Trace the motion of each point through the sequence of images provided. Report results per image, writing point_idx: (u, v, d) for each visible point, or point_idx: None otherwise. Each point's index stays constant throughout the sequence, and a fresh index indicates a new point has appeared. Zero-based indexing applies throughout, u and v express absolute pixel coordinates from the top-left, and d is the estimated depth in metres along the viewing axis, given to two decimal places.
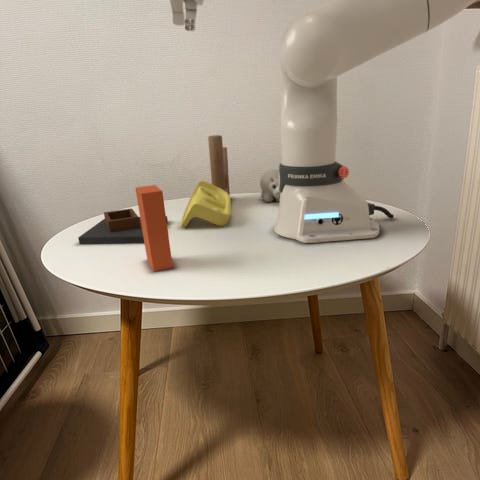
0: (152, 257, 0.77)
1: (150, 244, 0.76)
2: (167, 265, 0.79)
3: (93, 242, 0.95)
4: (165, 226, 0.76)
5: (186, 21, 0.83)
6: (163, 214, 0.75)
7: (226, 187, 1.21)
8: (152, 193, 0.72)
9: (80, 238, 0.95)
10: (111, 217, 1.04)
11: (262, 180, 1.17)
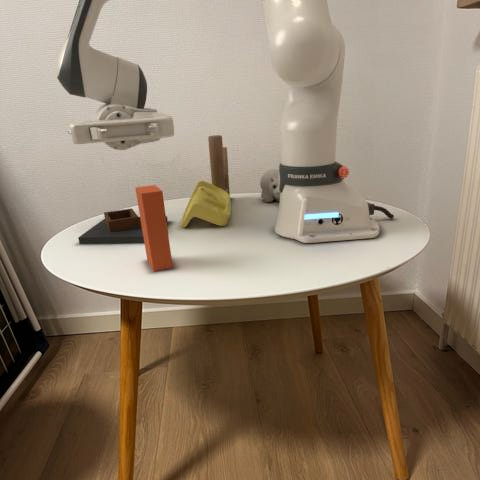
0: (152, 257, 0.77)
1: (150, 244, 0.76)
2: (167, 265, 0.79)
3: (93, 242, 0.95)
4: (165, 226, 0.76)
5: (148, 133, 0.83)
6: (163, 214, 0.75)
7: (226, 187, 1.21)
8: (152, 193, 0.72)
9: (80, 238, 0.95)
10: (111, 217, 1.04)
11: (262, 180, 1.17)
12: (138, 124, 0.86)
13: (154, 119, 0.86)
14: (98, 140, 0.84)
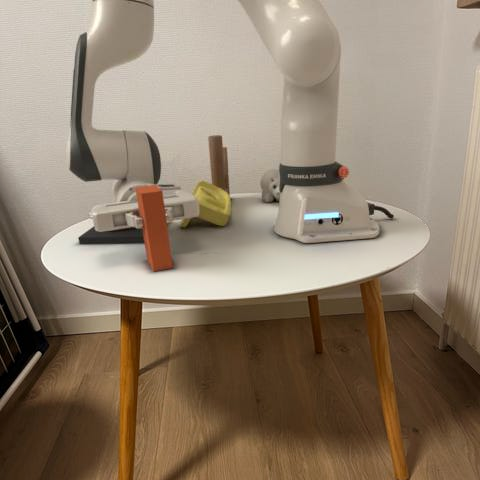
0: (152, 257, 0.77)
1: (150, 244, 0.76)
2: (167, 265, 0.79)
3: (93, 242, 0.95)
4: (165, 226, 0.76)
5: None
6: (163, 214, 0.75)
7: (226, 187, 1.21)
8: (152, 193, 0.72)
9: (80, 238, 0.95)
10: None
11: (262, 180, 1.17)
12: None
13: (179, 202, 0.82)
14: (121, 227, 0.80)
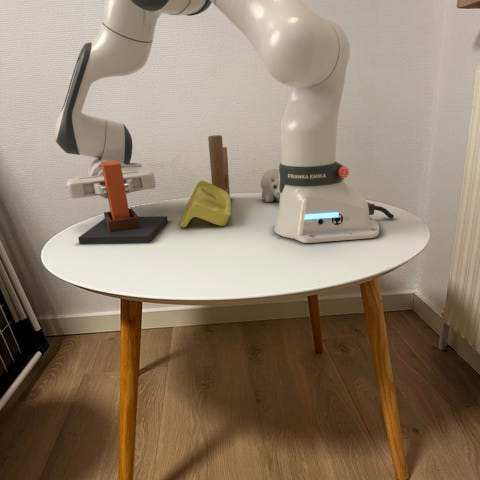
0: (114, 217, 0.97)
1: (112, 206, 0.96)
2: None
3: (93, 242, 0.95)
4: (124, 192, 0.96)
5: None
6: (121, 182, 0.95)
7: (226, 187, 1.21)
8: (112, 165, 0.93)
9: (80, 238, 0.95)
10: (111, 217, 1.04)
11: (263, 180, 1.17)
12: None
13: (138, 175, 1.02)
14: (91, 194, 1.00)
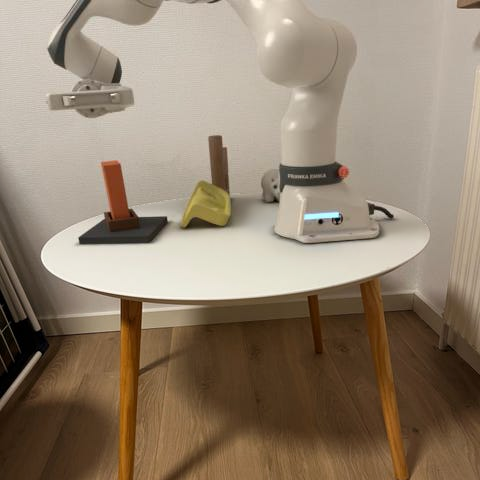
0: (114, 217, 0.97)
1: (112, 206, 0.96)
2: None
3: (93, 242, 0.95)
4: (124, 192, 0.96)
5: (111, 100, 1.02)
6: (121, 182, 0.95)
7: (226, 187, 1.21)
8: (112, 165, 0.93)
9: (80, 238, 0.95)
10: (111, 217, 1.04)
11: (263, 180, 1.17)
12: (103, 94, 1.04)
13: (116, 90, 1.04)
14: (70, 107, 1.02)
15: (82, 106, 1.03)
